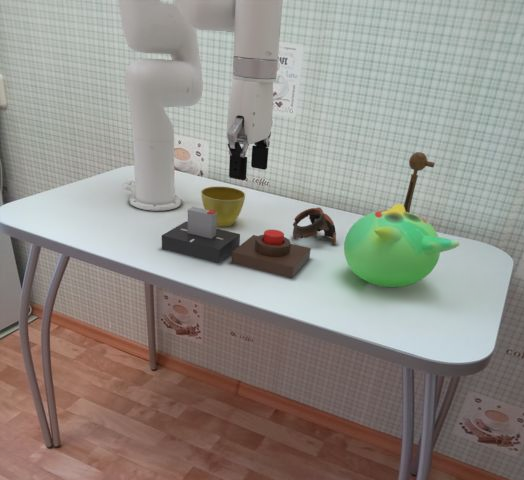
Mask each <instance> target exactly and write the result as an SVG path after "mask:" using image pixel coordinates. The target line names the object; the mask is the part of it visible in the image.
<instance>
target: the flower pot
mask: <svg viewBox="0 0 524 480" xmlns="http://www.w3.org/2000/svg"><path fill="white" fill-rule="evenodd" d="M200 194H201V201H202V205H203V209H206V210H214V211H216V212H217V222H216V227H220V228H227V227H228V228H229V227H231V226H233V225H234V224H235V222H236V221H237V219H238V217H239V215H240V214H241V212H242V209H243V206H244V203H245V199H246V193H245V192H244V190H241V189H239V188H238V189H237V188H235V187H230V186H221V185H219V186H209V187H208V186H207V187H205V188H203V189H202V190H201V191H200Z"/></svg>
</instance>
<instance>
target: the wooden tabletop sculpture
mask: <svg viewBox="0 0 524 480" xmlns="http://www.w3.org/2000/svg"><path fill="white" fill-rule="evenodd" d="M408 166H409V167H410V169H411V170H413V173H411V174H410V178H409V179H410V180H409V184H408V188H407V191H406V196H405V199H404V203H403V206H404V208H405V211H406V212H409V213H410V210H411V206H412V202H413V196H414V192H415V188H416V185H417V181H418V177H419V175H418V171H422V170H424V169H425V168H426V167H428V168H434V166H435V162H434V161H429V160H428V157H427V156H426V154H425V153H423V152H421V151H416V152H414V153H412V155H411V156H410V157H409V160H408Z"/></svg>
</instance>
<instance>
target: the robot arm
mask: <svg viewBox="0 0 524 480" xmlns="http://www.w3.org/2000/svg"><path fill="white" fill-rule="evenodd" d="M283 1H284V0H173V2H174V3H167V2H165V3H164V2H162V1H161V0H117V2H118V8H119V14H120V19H121V25H122V30H123V35H124V39H125V41H126V44H127V46H128V47H129V48H130V49H131V50H132V51H134V52H138V53H143V54H159V55H162V54H163V55H169V56H170V59H166V58H165V59H164V58H141V59H136V60H134V61H132V62H130V64H129V65H128V66H127V67H126V70H125V75H124V80H125V82H124V83H125V88H126V93H127V97H128V103H129V109H130V117H131V126H132V128H131V131H132V146H133V147H132V149H133V169H134V170H133V171H134V180H130V179H125V180H124V184H123V185H122V189H123V190H125V191H130V192H131V194H130V196H129V204H130V205H131V206H133V207H134V208H137V209H139V210H144V211H152V212H153V211H155V212H161V211H164V212H165V211H169V210H174V209H177V208H179V207H180V206H181V204H182V199H181V198H180V196H179V195H177V194H175V193H176V192H175V129H174V125H173V122H172V120H171V119H170V117H169V116H168V113H166V111H165V108H177V107H179V108H180V107H181V108H182V107H193V106H195V105H197V104H198V103H199V102H200V100H201V98H202V96H203V87H204V85H203V83H204V80H203V72H202V65H201V56H200V51H199V41H198V35H197V30H200V31H211V32H227V33H231V34H232V33H233V55H232V56H233V57H232V82H231V87H230V93H229V100H228V112H227V122H226V123H227V124H226V139H227V147H228V155H229V165H228V167H229V168H228V177H229V178H230V179H234V180H239V181H245V180H246V179H247V170H248V156H246V154H247V152H248V149H249V146H250V145H252V147H251V162H250V166H251V168H253V169H259V170H262V171H263V170H264V171H265V170H267V169H268V163H269V162H268V159H269V149H270V144H271V143H270V138H271V135H272V128H273V127H272V126H273V111H274V110H273V109H274V105H273V104H274V83H277V77H278V76H277V75H278V64H279V63H278V62H279V53H280V37H281V26H282V15H283V14H282V13H283V3H284V2H283ZM253 144H254V145H253ZM241 145H242V146H241Z"/></svg>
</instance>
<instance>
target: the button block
mask: <svg viewBox="0 0 524 480" xmlns="http://www.w3.org/2000/svg"><path fill="white" fill-rule="evenodd" d="M263 238H264V234H260V235H257V234H252V235H251V236H250V237H249V238H247V239H246V240H244V241H243V242H242V243H240V245H239V247H237V248H236V249H235V250H234V251H232V253H231V258H230V259H231V260H230V261H231V263H230V264H233V265H237V266H240V267H245V268H249V269H253V270H257V271H261V272H264V273H268V274H271V275H276V276H280V277H283V278H287V279H293V278H294V277H295V276H296V275H297V274H298V273H299V271H301V269H302V268H303V267H304V266H305V264H306V263H308V261H309V260H310V256H311V249H312V248H311V247H307V246H304V245H298V244H296V243H295V244H294V243H292V242H291V240H290V239H289V238H287V237H285V236H284V239H283V244H281V245H270V244H266V243H264V242H263Z"/></svg>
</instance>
